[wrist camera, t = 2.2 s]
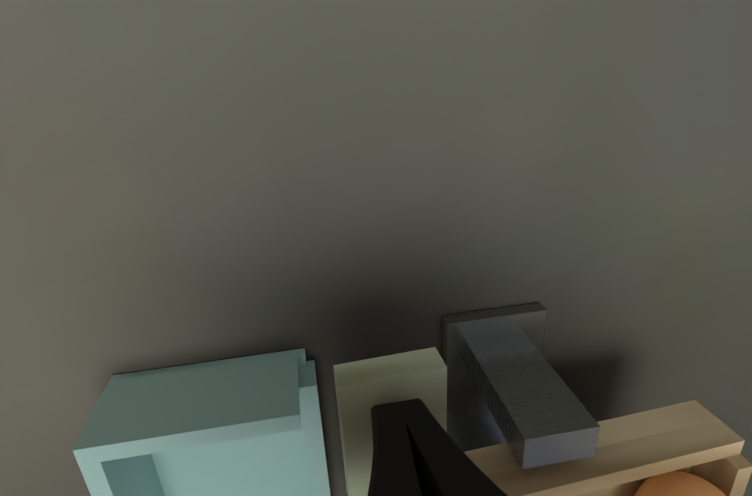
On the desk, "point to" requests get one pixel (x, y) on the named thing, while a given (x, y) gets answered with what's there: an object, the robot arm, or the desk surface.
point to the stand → (511, 388)
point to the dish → (209, 431)
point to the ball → (677, 486)
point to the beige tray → (554, 481)
